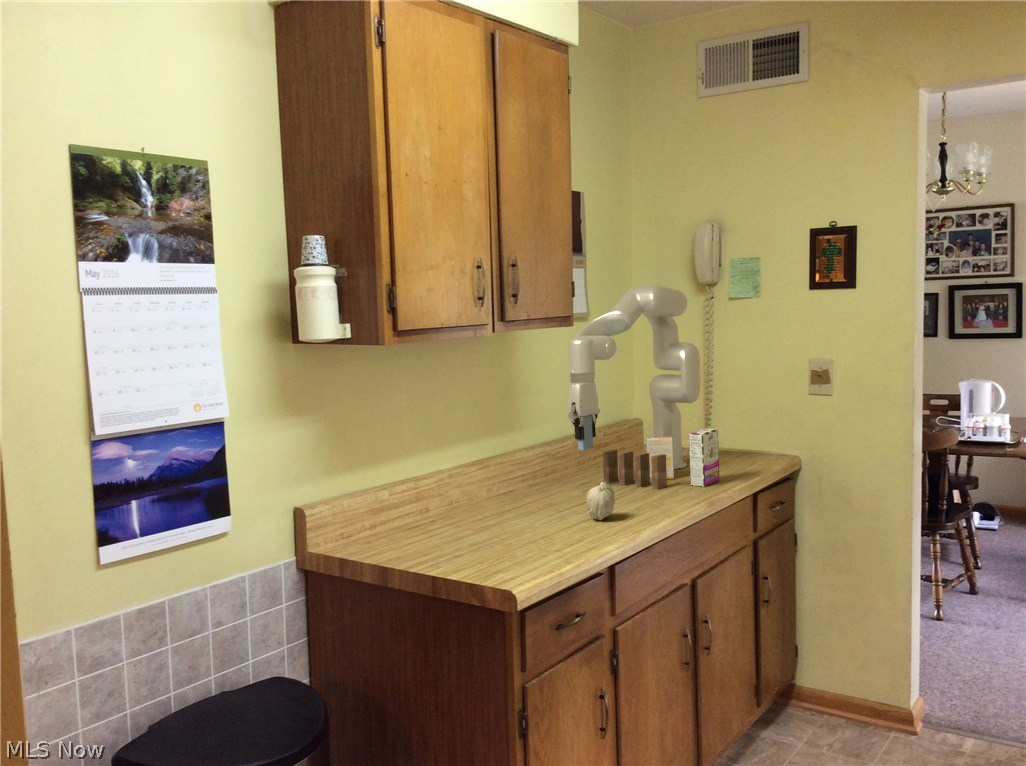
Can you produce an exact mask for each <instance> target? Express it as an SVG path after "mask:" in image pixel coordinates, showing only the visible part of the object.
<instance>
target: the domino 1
mask: <svg viewBox="0 0 1026 766" xmlns="http://www.w3.org/2000/svg"><path fill="white" fill-rule="evenodd" d="M577 419H578V421H579V418H577ZM582 427H584V440H577V449H578V451H586V450H589V449H594V437H593V431H592V415H589V416H584V417H583V425H582Z"/></svg>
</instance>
